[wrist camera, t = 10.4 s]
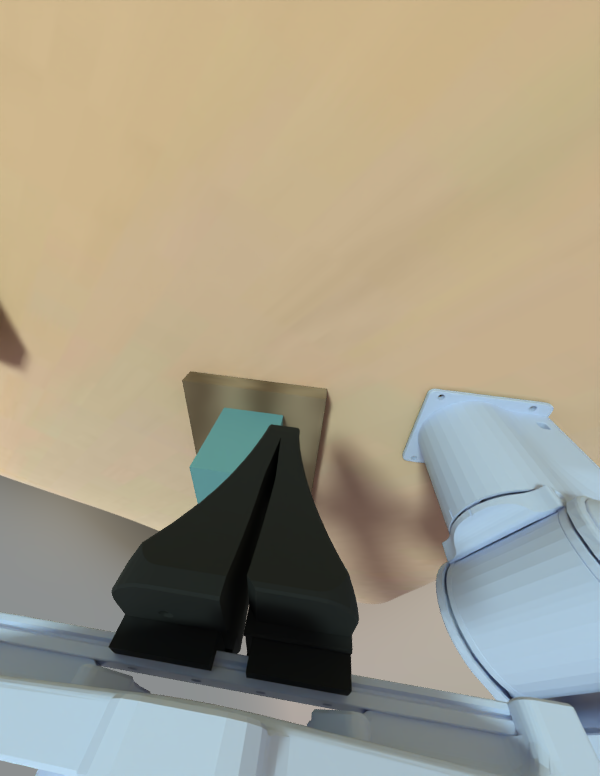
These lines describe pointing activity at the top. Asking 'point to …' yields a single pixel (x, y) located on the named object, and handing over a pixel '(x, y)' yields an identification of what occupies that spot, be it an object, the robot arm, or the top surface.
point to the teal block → (228, 447)
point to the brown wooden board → (257, 408)
